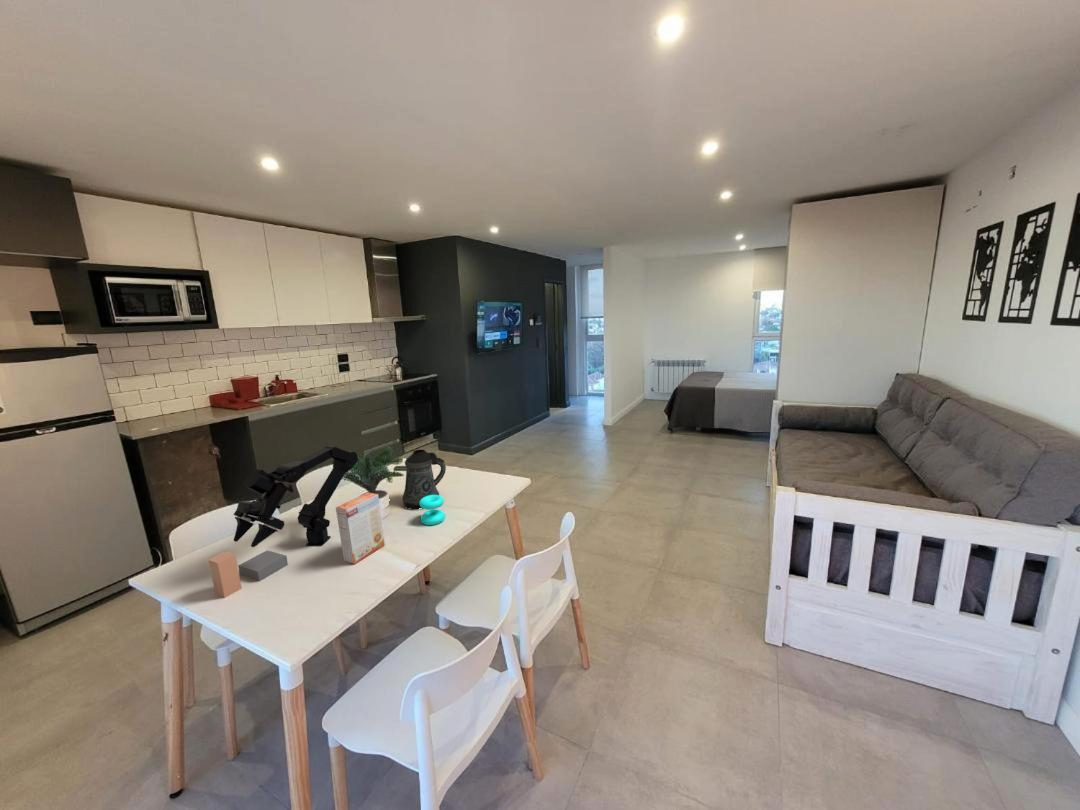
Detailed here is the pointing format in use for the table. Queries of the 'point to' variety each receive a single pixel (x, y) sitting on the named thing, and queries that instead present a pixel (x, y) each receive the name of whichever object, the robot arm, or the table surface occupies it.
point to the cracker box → (360, 527)
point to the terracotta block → (225, 574)
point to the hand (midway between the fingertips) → (243, 544)
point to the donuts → (430, 504)
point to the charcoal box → (263, 565)
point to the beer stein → (421, 477)
